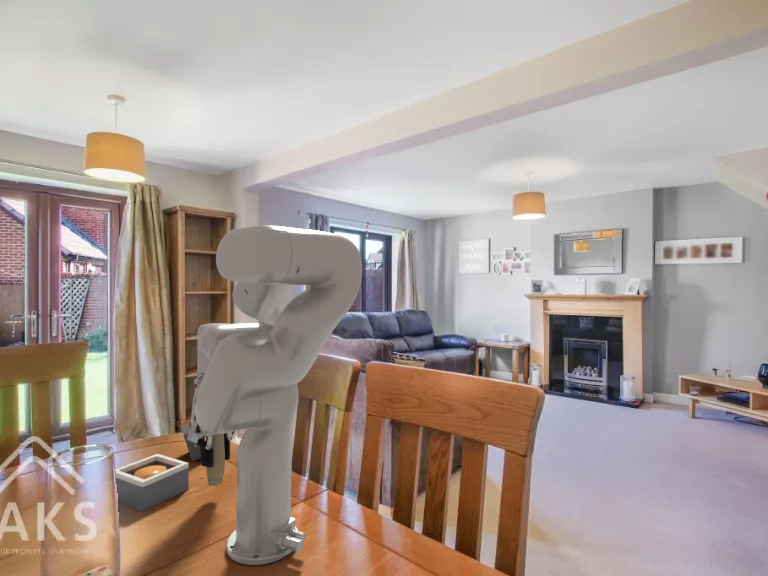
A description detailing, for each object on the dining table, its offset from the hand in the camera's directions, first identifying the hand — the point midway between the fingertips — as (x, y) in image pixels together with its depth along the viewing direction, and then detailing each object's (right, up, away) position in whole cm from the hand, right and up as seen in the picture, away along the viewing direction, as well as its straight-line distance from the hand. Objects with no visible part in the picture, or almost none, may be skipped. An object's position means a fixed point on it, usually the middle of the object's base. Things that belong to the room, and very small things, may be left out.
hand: (215, 461), depth 94 cm
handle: (0, -5, 0) cm, 5 cm away
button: (-15, -5, +1) cm, 16 cm away
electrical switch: (-15, -8, +22) cm, 28 cm away
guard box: (-15, -8, +1) cm, 17 cm away
